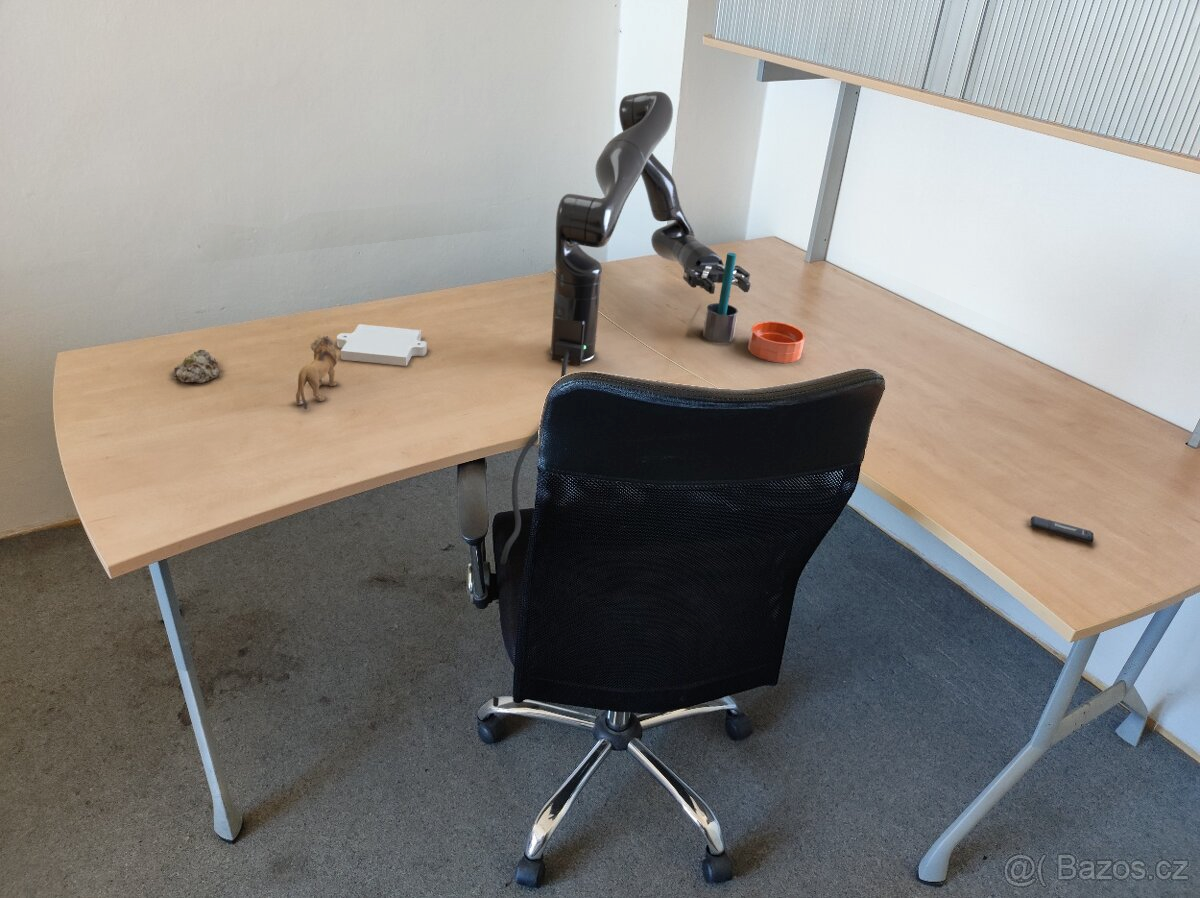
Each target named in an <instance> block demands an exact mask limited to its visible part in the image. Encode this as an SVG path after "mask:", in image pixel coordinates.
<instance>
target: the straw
mask: <svg viewBox="0 0 1200 898" xmlns="http://www.w3.org/2000/svg"><path fill="white" fill-rule="evenodd" d="M736 259H737V253H735V252H727V253H726V258H725V264H724V266H725V270H724V276H723V282H722V283H721V290H720V295H719V300H718V303H719V306H718V312H717V314H722V315H726V313H727V307H728V305H729V302H730V301H729V300H730V295H731V289H732V285H731V284H732V278H733V272H734V269H735V266H736Z"/></svg>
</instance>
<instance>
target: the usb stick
mask: <svg viewBox="0 0 1200 898" xmlns="http://www.w3.org/2000/svg"><path fill="white" fill-rule="evenodd" d="M1030 526H1031V527H1032V529H1035V530H1039V531H1043V532H1046V533H1050V534H1055V535H1058V536H1061V537H1064V538H1070V539H1073V540H1077V541H1081V542H1085V543H1088V544H1090V543H1093V542H1094V539H1095V538H1094V537H1095V536H1094V532H1093V531H1092V530H1089V529H1085V528H1081V527H1079V526H1074V525H1071V524H1066V523H1063V522H1059V521H1055V520H1051V519H1047V518H1044V517H1040V516H1036V515H1034V516H1031V518H1030Z"/></svg>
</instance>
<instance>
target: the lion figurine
mask: <svg viewBox="0 0 1200 898" xmlns="http://www.w3.org/2000/svg"><path fill="white" fill-rule="evenodd" d="M309 347H310V349H311V351H313V361H312V362H311V363H310V364H307V365H304V366H302V368H301V369H300V370H299V373H298V378H297V390H296V394H295V404H296V406H301V405H303V409H304V410H307V409H308V403H307V401H306V398H305V386H306V385H307V384H308V385H309V386H310V387H311V389H312V392H313V393H312V394H313V395H312V396H313V397H314V398H315V399H316V400H317V401H318V402H323V401H325V397H324V396H323V395H320V393H319V392H320V391H319V390H320V386H322V385H323V381H322V379H324V378H326V376H327V375H328V379H329V380H328V384H329V386H331V387H335V386H337V383H336V382H335V375H336V371H335V367H336V365H337V363H338V361H337V359H338V355H337V351H336V346H335V342H334V340H332V338H331V337H329V336H328V335H326V334H319V335H317V336H316V338H315V339H314V340H313V342H312V343H310V344H309Z"/></svg>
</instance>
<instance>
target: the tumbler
mask: <svg viewBox="0 0 1200 898" xmlns="http://www.w3.org/2000/svg"><path fill="white" fill-rule="evenodd" d="M718 306H719V302H715V303H710V304H708V305H707V307H706V311H705V318H704V325H703V330H702V336H703V337H704V339H706V340H707V341H710V342H712V343H713V342H714V343H720V344H726V343H730V342H732V341H733V339H734V338H735V333H736V332H735V331H736V325H737V320H738V314H739V310H738V308H737V307H735V306H733V305H731V304H728V307H727V313H726V315H722V314H717V312H718Z"/></svg>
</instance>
